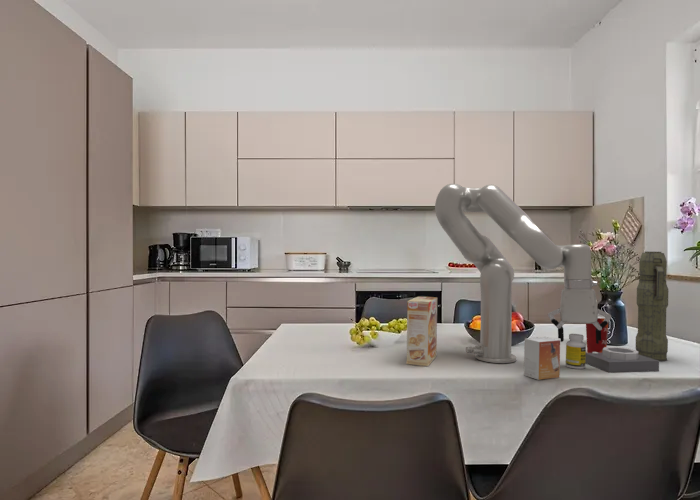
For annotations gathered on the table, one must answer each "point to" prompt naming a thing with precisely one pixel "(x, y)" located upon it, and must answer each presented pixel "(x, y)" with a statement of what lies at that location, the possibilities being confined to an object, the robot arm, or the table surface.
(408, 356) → the coffeecake box
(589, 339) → the paper cup
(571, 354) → the supplement bottle
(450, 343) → the table surface
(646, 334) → the thermos
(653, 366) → the grey bottle holder base
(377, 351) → the table surface
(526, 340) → the small box
